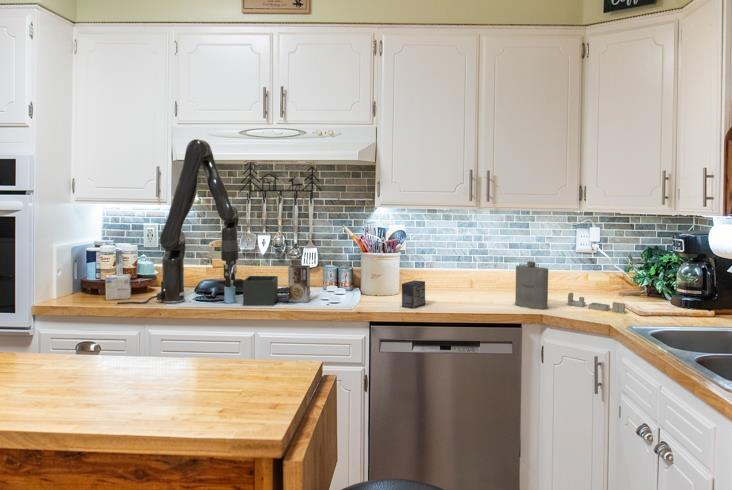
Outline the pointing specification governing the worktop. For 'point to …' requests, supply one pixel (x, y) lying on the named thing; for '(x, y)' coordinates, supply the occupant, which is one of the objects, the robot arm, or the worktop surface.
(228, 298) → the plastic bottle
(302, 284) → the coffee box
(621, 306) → the bathroom set
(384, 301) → the worktop surface
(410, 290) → the small box
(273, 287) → the waste bin
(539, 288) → the flask
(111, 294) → the light bulb box
